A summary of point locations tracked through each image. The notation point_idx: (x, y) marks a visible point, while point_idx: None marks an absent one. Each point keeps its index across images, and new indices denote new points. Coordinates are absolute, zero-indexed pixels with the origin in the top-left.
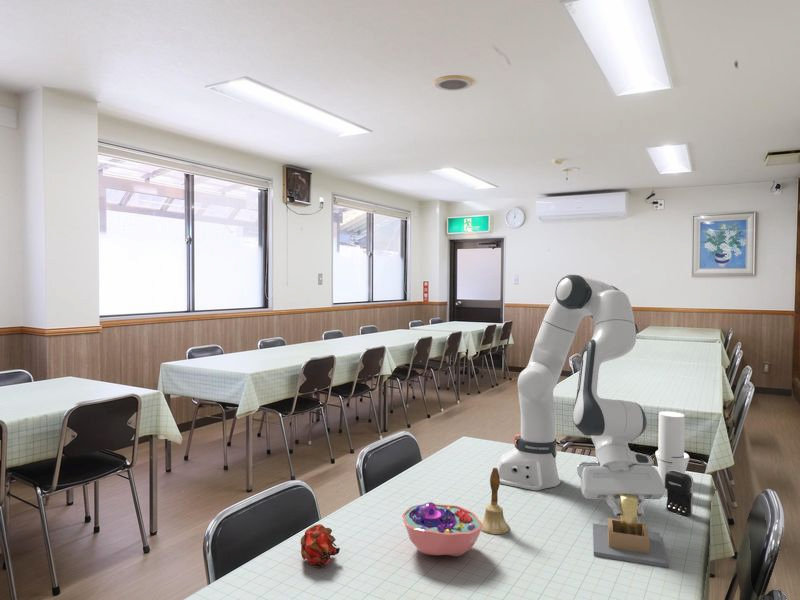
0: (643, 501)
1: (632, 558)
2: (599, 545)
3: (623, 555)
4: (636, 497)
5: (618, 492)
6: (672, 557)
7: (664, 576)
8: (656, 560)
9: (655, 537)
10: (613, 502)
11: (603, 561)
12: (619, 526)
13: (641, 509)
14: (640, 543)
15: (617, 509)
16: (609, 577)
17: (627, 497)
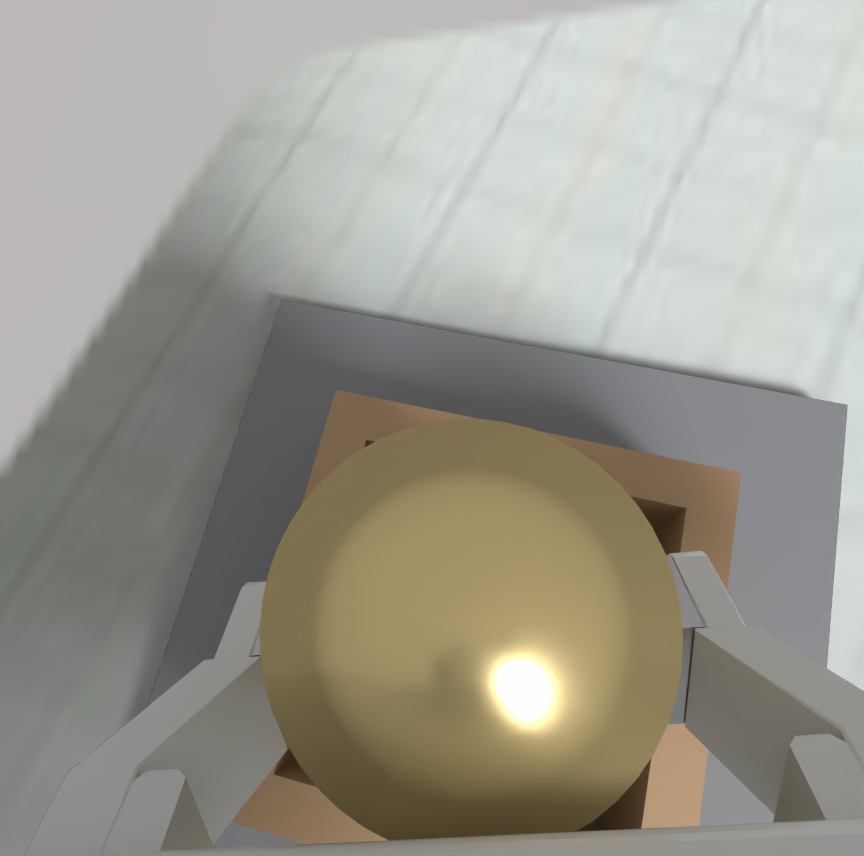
0: (130, 732)
1: (529, 348)
2: (780, 527)
3: (595, 371)
4: (285, 600)
5: (711, 844)
6: (184, 470)
7: (365, 204)
8: (352, 326)
9: None
10: (782, 672)
11: (757, 340)
12: None
13: (258, 615)
14: None
15: (682, 584)
16: (746, 140)
17: (513, 575)
